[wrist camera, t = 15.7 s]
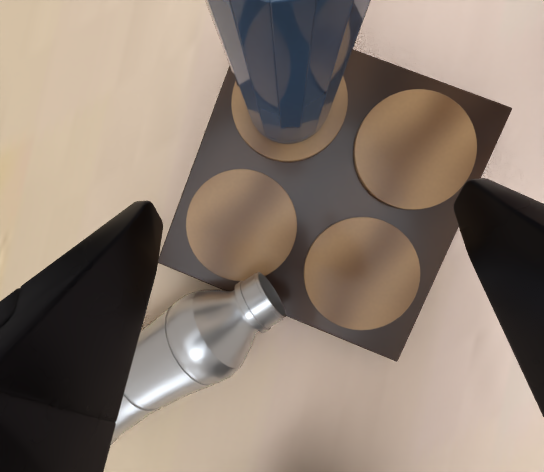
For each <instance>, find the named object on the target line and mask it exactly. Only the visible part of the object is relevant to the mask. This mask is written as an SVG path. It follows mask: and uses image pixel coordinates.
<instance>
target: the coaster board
mask: <svg viewBox="0 0 544 472" xmlns="http://www.w3.org/2000/svg"><path fill="white" fill-rule="evenodd" d="M511 110H512V108H511V107H508V106H505V105H503V104H500V103H497V102H494V101H492V100H489V99H486V98H484V97H481V96H478V95H475V94H473V93H470V92H467V91H465V90H462V89H459V88H456V87H454V86H451V85H448V84H446V83H443V82H440V81H437V80H435V79H432V78H429V77H427V76H424V75H421V74H418V73H416V72H413V71H410V70H408V69H405V68H402V67H399V66H397V65H394V64H391V63H389V62H386V61H383V60H380V59H378V58H375V57H372V56H370V55H367V54H364V53H361V52H359V51H356V50H353V49H352V52H351V55H350V57H349V60H348V63H347V66H346V68H345V71H344V74H343V76H342V79H341V82H340V85H339V87H338V90H337V93H336V95H335V98H334V101H333V104H332V106H331V109H330V112H329V114H328V117H327V119H326V121H325V123H324V124H323V126H322V127H321V128H320V130H319V131H318V132H317V133H316V134H314V135H313V136H312V137H310V138H308V139H307V140H304V141H302V142H299V143H294V144H282V143H277V142H274V141H271V140H269V139H267V138H266V137H264V136H263V135H262V134H261V133H260V132H259V131H258V130H257V129H256V128H255V126H254V125H253V123H252V121H251V119H250V116H249V114H248V112H247V110H246V107H245V105H244V102H243V99H242V97H241V94H240V91H239V89H238V86H237V84H236V81H235V78H234V76H233V73H232V70H231V68H230V66H229V69H228V71H227V74H226V77H225V79H224V82H223V85H222V88H221V90H220V93H219V96H218V98H217V101H216V104H215V107H214V109H213V112H212V115H211V117H210V120H209V123H208V126H207V128H206V131H205V134H204V136H203V139H202V142H201V145H200V147H199V150H198V153H197V155H196V158H195V161H194V164H193V166H192V169H191V172H190V175H189V177H188V180H187V183H186V185H185V188H184V191H183V194H182V196H181V199H180V202H179V204H178V207H177V210H176V213H175V215H174V218H173V221H172V223H171V226H170V229H169V232H168V234H167V237H166V240H165V242H164V245H163V248H162V251H161V253H160V256H159V259H158V263H160V264H162V265H165V266H167V267H170V268H172V269H175V270H177V271H179V272H182V273H184V274H187V275H189V276H191V277H194V278H196V279H199V280H201V281H203V282H206V283H208V284H211V285H213V286H216V287H218V288H220V289H223V290H225V291H234V290H235V285H236V284H237V283H239V282H240V281H244V280H246V279H247V278H249V277H250V276H252V275H254V274H255V273H258V272H260V273H262V274H263V275H264V276H265V277H266V278H267V279H268V281H269V282H270V283H271V285H272V286H273V288H274V289H275V291H276V292H277V294H278V296H279V298H280V300H281V302H282V304H283V306H284V309H285V312H286V316H288V317H290V318H293V319H295V320H298V321H300V322H302V323H305V324H307V325H310V326H312V327H314V328H317V329H319V330H322V331H324V332H326V333H329V334H331V335H334V336H336V337H339V338H341V339H343V340H346V341H348V342H351V343H353V344H355V345H358V346H360V347H363V348H365V349H367V350H370V351H372V352H375V353H377V354H380V355H382V356H384V357H387V358H389V359H392V360H394V361H398V359H399V357H400V354H401V352H402V350H403V348H404V346H405V343H406V341H407V339H408V337H409V335H410V332H411V330H412V328H413V326H414V324H415V321H416V319H417V317H418V315H419V313H420V310H421V308H422V306H423V304H424V302H425V299H426V297H427V295H428V293H429V291H430V288H431V286H432V284H433V282H434V280H435V277H436V275H437V273H438V271H439V269H440V266H441V264H442V262H443V260H444V258H445V255H446V253H447V251H448V249H449V247H450V244H451V242H452V240H453V238H454V236H455V233H456V231H457V229H458V227H459V225H458V222H457V219H456V216H455V213H454V202H455V200H456V198H457V196H458V195H459V193H460V191H461V189H462V188H463V186H464V184H465V183H466V182H467V181H468V180H470V179H480V178H481V176H482V174H483V172H484V170H485V167H486V165H487V163H488V161H489V159H490V156H491V154H492V152H493V150H494V148H495V145H496V143H497V141H498V139H499V137H500V134H501V132H502V130H503V128H504V126H505V123H506V121H507V119H508V117H509V115H510V112H511Z"/></svg>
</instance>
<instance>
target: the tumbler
mask: <svg viewBox="0 0 544 472" xmlns="http://www.w3.org/2000/svg"><path fill="white" fill-rule="evenodd" d="M370 1H371V0H205V2H206V4H207V7H208V10H209V12H210V15H211V17H212V20H213V23H214V25H215V28H216V31H217V33H218V36H219V39H220V41H221V44H222V47H223V49H224V52H225V54H226V57H227V60H228V62H229V65H230V68H231V70H232V73H233V76H234V78H235V81H236V84H237V86H238V89H239V91H240V94H241V97H242V99H243V102H244V105H245V107H246V110H247V112H248V114H249V116H250V119H251V121H252V123H253V125H254V126H255V128H256V129H257V130H258V131H259V132H260V133H261V134H262V135H263V136H264V137H266V138H267V139H269V140H271V141H274V142H277V143H282V144H294V143H299V142H302V141H304V140H307V139H308V138H310V137H312V136H313V135H314V134H316V133H317V132H318V131H319V130H320V128H321V127H322V126H323V124H324V123H325V121H326V119H327V117H328V114H329V112H330V109H331V106H332V104H333V101H334V98H335V95H336V93H337V90H338V87H339V85H340V82H341V79H342V76H343V74H344V71H345V68H346V66H347V63H348V60H349V57H350V55H351V52H352V49H353V47H354V44H355V41H356V38H357V36H358V33H359V30H360V28H361V25H362V22H363V20H364V17H365V14H366V11H367V9H368V6H369V3H370Z"/></svg>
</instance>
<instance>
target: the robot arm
mask: <svg viewBox="0 0 544 472" xmlns="http://www.w3.org/2000/svg"><path fill="white" fill-rule="evenodd" d="M454 213H455V216H456V219H457V222H458V225H459V228H460V231H461V234H462V238H463V241H464V244H465V247H466V250H467V253H468V255H469V258H470V260H471V262H472V264H473V267H474V269H475V271H476V273H477V275H478V277H479V280H480V282H481V284H482V286H483V288H484V290H485V292H486V295H487V297H488V299H489V301H490V303H491V305H492V307H493V310H494V312H495V314H496V316H497V318H498V320H499V322H500V325H501V327H502V329H503V331H504V333H505V335H506V338H507V340H508V342H509V344H510V346H511V348H512V350H513V353H514V355H515V357H516V359H517V361H518V363H519V365H520V368H521V370H522V372H523V374H524V376H525V378H526V380H527V383H528V385H529V387H530V389H531V391H532V393H533V396H534V398H535V400H536V402H537V404H538V406H539V408H540V411H541V413H542V415H543V417H544V204H543V203H540V202H538V201H536V200H534V199H531V198H529V197H527V196H525V195H522V194H520V193H518V192H516V191H514V190H511V189H509V188H507V187H505V186H502V185H500V184H498V183H496V182H493V181H491V180H489V179H485V178H480V179H470V180H468V181H467V182H466V183H465V184H464V186H463V188H462V189H461V191H460V193H459V195H458V196H457V198H456V200H455V202H454ZM162 230H163V223H162V220H161V218H160V216H159V214H158V213H157V211H156V209H155V207H154V205H153V204H152V203H151V202H150V201H137V202H134V203H133V204H132V205H130V206H129V207H127V208H126V209H125V210H123V211H122V212H121V213H119V214H118V215H117V216H115V217H114V218H113V219H111V220H110V221H109V222H107V223H106V224H104V225H103V226H102V227H100V228H99V229H98V230H96V231H95V232H94V233H92V234H91V235H90V236H88V237H87V238H86V239H84V240H83V241H81V242H80V243H79V244H77V245H76V246H75V247H73V248H72V249H71V250H69V251H68V252H67V253H65V254H64V255H63V256H61V257H60V258H58V259H57V260H56V261H54V262H53V263H52V264H50V265H49V266H48V267H46V268H45V269H44V270H42V271H41V272H40V273H38V274H37V275H35V276H34V277H33V278H31V279H30V280H29V281H27V282H26V283H25V284H23V285H22V286H21V288H19V289H16V290H15V291H14V292H12V293H11V294H10V295H8V296H7V297H6V298H4V299H3V300H2V301H0V472H103V471H104V467H105V463H106V460H107V456H108V452H109V448H110V445H111V441H112V437H113V434H114V430H115V426H116V423H115V422H116V421H117V418H118V414H119V410H120V406H121V403H122V399H123V395H124V391H125V388H126V384H127V380H128V376H129V373H130V369H131V365H132V361H133V358H134V354H135V350H136V347H137V343H138V339H139V335H140V332H141V328H142V324H143V320H144V317H145V313H146V309H147V305H148V302H149V298H150V294H151V290H152V287H153V283H154V279H155V275H156V271H157V265H158V259H159V252H160V245H161V238H162Z"/></svg>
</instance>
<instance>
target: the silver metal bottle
mask: <svg viewBox="0 0 544 472" xmlns="http://www.w3.org/2000/svg"><path fill="white" fill-rule="evenodd" d="M284 317H286V312H285V309H284V306H283V304H282V302H281V300H280V298H279V296H278V294H277V292H276V291H275V289H274V288H273V286H272V285H271V283H270V282H269V281H268V279H267V278H266V277H265V276H264V275H263V274H262V273H260V272H258V273H255V274H254V275H252V276H250V277H249V278H247V279H246V280H244V281H240V282H239V283H237V284H236V285H235V290H234V291H220V290H201V291H197V292H193V293H190V294H187V295H185V296H184V297H182V298H181V299H180V300H178V301H177V302H175V303H174V304H173V305H172V306H171V307H170V308H169V309H167V310H166V311H165V312H164V313H163V314H162V315H160V316H159V317H158V318H157V319H156V320H155V321H153V322H152V323H151V324H150V325H149V326H148V327H146V328H145V329H143V330H142V331H141V332H140V335H139V339H138V343H137V347H136V350H135V354H134V358H133V361H132V365H131V369H130V373H129V376H128V380H127V384H126V388H125V391H124V395H123V399H122V403H121V406H120V410H119V414H118V418H117V421H116V422H115V423H116V426H115V430H114V434H113V437H112V441H111V444H112V443H113V442H114V441H115V440H116V439H117V438H118V437H119V436H120V435H122V434H123V433H124V432H126V431H127V430H129V429H130V428H131V427H133V426H134V425H135V424H137V423H138V422H140V421H141V420H142V419H144V418H145V417H147V416H148V415H149V414H151V413H153V412H155V411H157V410H159V409H160V408H162V407H164V406H167V405H168V404H170V403H172V402H174V401H176V400H178V399H180V398H182V397H184V396H187V395H189V394H192V393H194V392H197V391H199V390H202V389H204V388H207V387H209V386H212V385H214V384H216V383H219V382H221V381H223V380H225V379H227V378H229V377H231V376H232V375H233V374H234V373H235V372H236V371H237V370H238V369H239V368H240V367H241V365H242V364H243V362H244V360H245V358H246V356H247V354H248V352H249V350H250V348H251V345H252V342H253V340H254V337H255V334H256V333H257V332H258V331H259V332H261V333H264V332H266V331H268V330H269V329H270V328H271V326H273V325H274V324H276V323H278V322H279V321H281V320H282V319H283V318H284Z"/></svg>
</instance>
